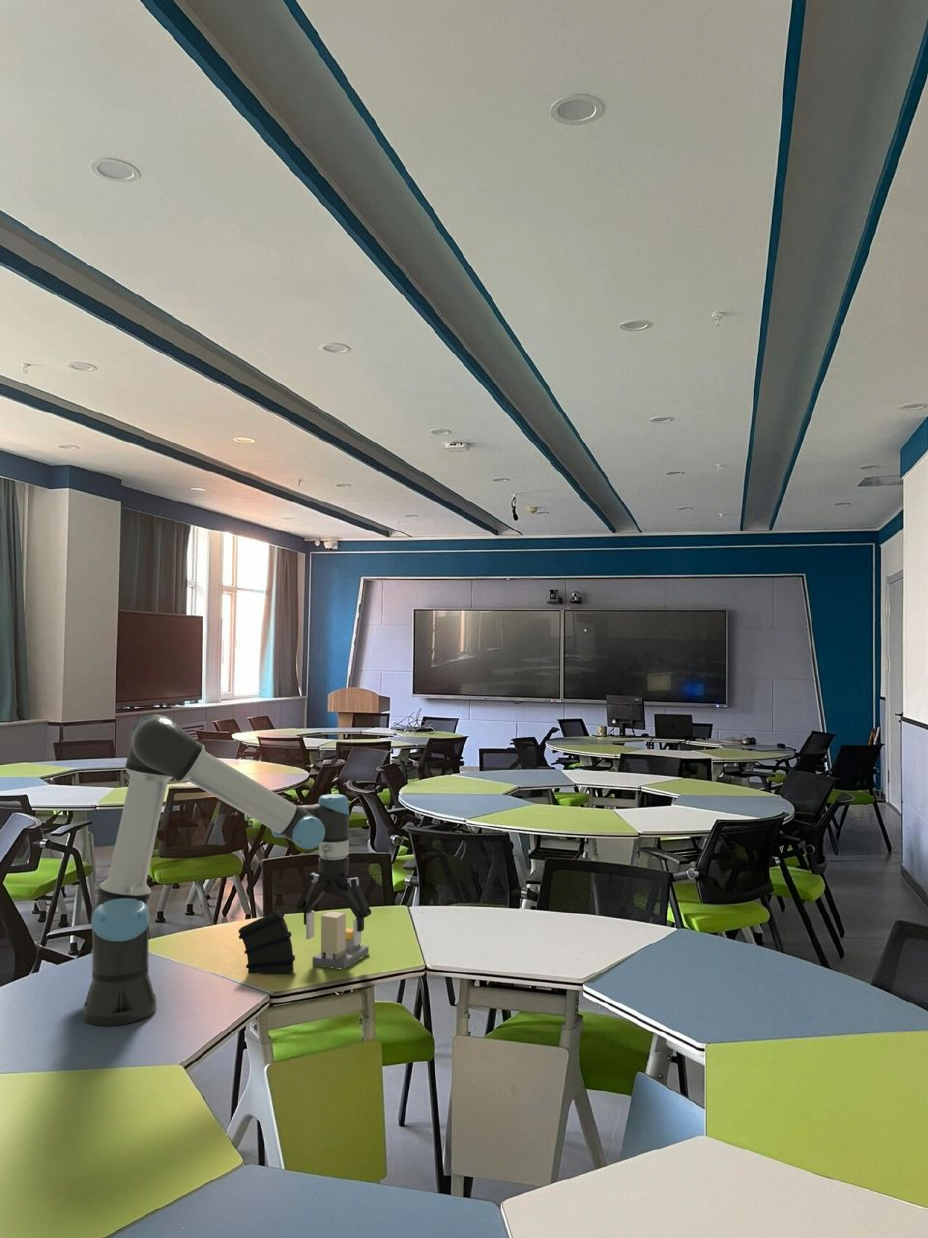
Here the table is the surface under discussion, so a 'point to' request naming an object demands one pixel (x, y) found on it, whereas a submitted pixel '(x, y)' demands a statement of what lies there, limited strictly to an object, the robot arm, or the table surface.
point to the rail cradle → (351, 956)
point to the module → (333, 934)
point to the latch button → (349, 934)
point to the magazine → (268, 945)
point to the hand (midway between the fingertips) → (333, 941)
